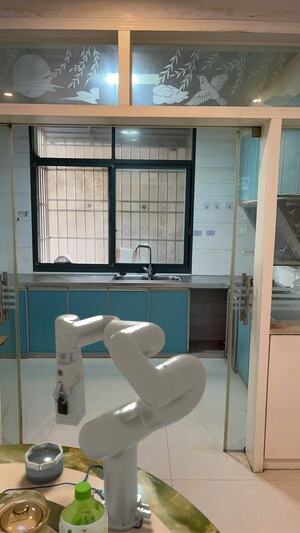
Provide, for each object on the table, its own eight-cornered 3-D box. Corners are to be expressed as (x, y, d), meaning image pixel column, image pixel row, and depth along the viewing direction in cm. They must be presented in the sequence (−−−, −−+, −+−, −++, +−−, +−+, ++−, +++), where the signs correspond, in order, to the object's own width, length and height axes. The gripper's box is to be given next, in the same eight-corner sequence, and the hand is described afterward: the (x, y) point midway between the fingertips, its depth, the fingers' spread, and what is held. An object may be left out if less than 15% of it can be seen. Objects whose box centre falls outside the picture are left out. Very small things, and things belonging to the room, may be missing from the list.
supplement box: (86, 413, 119) (85, 377, 117) (77, 426, 112) (75, 388, 110) (65, 411, 121) (64, 375, 119) (55, 423, 114) (53, 385, 112)
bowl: (70, 463, 125) (69, 445, 124) (49, 488, 114) (48, 468, 113) (40, 456, 129) (39, 438, 128) (18, 479, 118) (16, 460, 117)
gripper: (63, 367, 104) (65, 424, 107) (92, 346, 120) (94, 396, 123) (41, 363, 106) (43, 419, 109) (73, 343, 123) (74, 392, 125)
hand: (70, 406), depth 116 cm, fingers closed on supplement box, 7 cm apart
